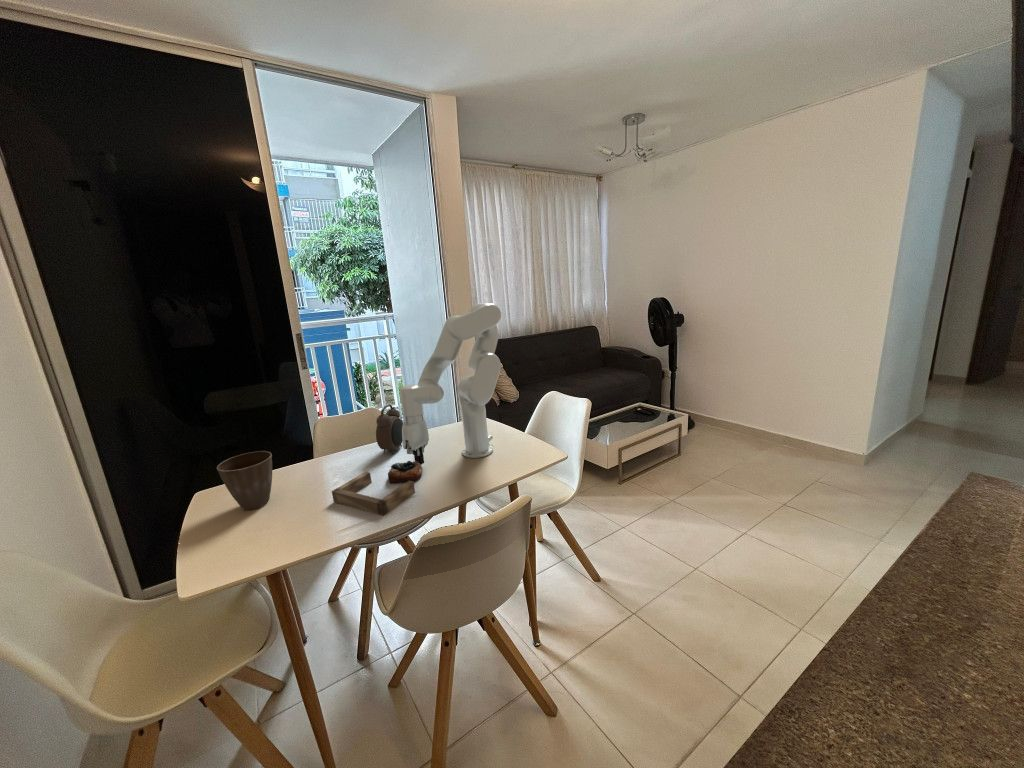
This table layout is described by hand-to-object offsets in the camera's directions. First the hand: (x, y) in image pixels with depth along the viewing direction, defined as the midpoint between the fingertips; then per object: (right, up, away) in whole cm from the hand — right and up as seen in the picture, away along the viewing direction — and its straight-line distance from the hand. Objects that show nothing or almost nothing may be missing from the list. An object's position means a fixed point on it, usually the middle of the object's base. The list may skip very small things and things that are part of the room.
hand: (419, 463), depth 148 cm
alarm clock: (-15, +2, +18) cm, 24 cm away
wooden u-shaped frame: (-10, -7, -19) cm, 23 cm away
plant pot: (-50, -10, -18) cm, 54 cm away
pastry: (-3, -4, -6) cm, 8 cm away
